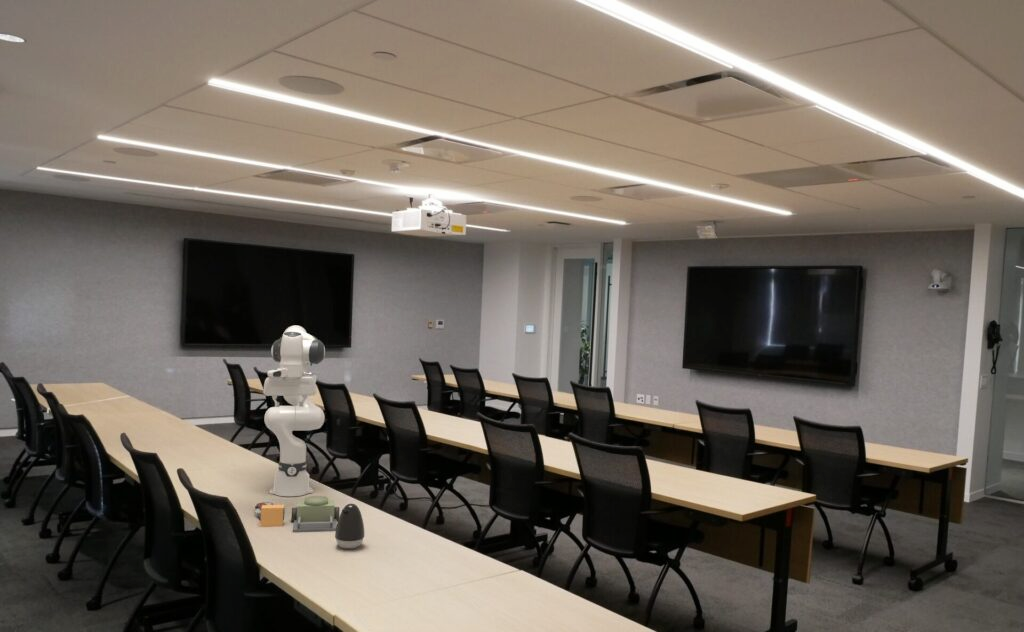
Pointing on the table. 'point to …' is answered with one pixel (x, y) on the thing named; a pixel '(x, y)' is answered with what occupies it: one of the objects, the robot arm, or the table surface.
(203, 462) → the table surface
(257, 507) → the walkie-talkie
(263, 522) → the orange cardboard box
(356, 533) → the pump dispenser
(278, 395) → the robot arm
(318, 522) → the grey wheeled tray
